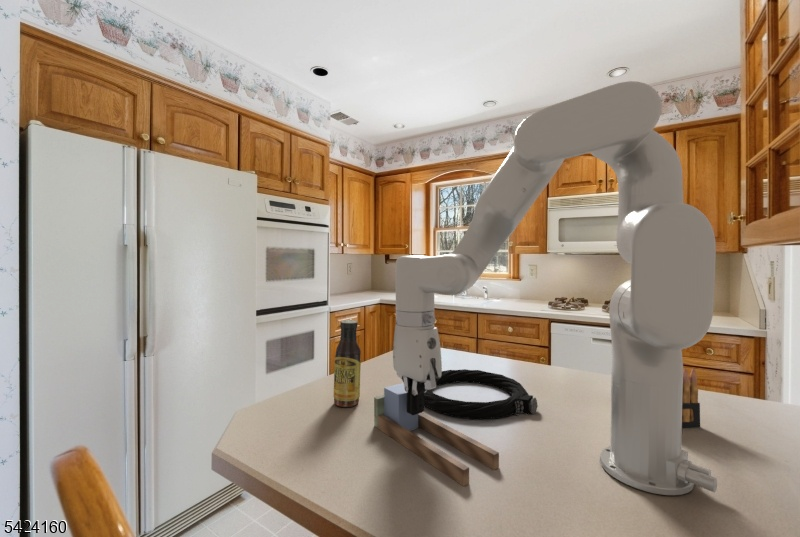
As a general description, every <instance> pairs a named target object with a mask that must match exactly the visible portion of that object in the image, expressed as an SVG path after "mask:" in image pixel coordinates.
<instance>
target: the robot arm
mask: <svg viewBox="0 0 800 537" xmlns="http://www.w3.org/2000/svg"><path fill="white" fill-rule="evenodd" d="M662 108H663V105H662V100H661V96H660V94H659V92H658V91H657V90H656V88H653V87H652V86H651V85H649V84H647V83H644V82H641V81H631V80H629V81H622V82H617V83H613V84H610V85H608V86H603V87H602V88H598V89H596V90H592V91H590V92H587V93H584V94H582V95H578V96H575V97H573V98H572V97H571V98H569V99H566V100H563V101H561V102H558V103H555V104H552V105H549V106H546V107H544V108H542V109H539V110H537V111H535V112H533V113H530V115H528V116H527V117H525V118H524V119H523V120H522V121H521V123H519V125H518V126H517V128H516V130H515V133H514V137H513V147H512V148H511V150H510V152H509V153H508V155H507V156H506V158H504V160H503V162H502V164H501V165H500V166H499V168H498V169H497V171H496V172H495V174H494V175H493V176H492V178H491V180H490V181H489V183H488V184H487V185H486V187H485V188H484V190H483V191H482V192H481V194H480V195H479V197H478V199H477V202H476V204H475V207H474V212H473V216H472V219H471V222H470V224H469V226H468V228H467V230H466V232H465V233H464V235H463V236H462V238H461V240H460V241H459V243H458V244H457V245H456V246H455V248H454V249H453V251H452V252H451V253H448V254H442V255H436V256H435V255H434V256H429V255H401V256H399V257H397V259H396V261H395V270H394V271H395V327H394V333H393V334H394V335H393V346H392V364H393V365H392V366H393V369H394V371H395V372H396V376H397V377H399V378H400V379H401V380H402V383H404V389H405V391H406V392H408V393H407V413H409V414H411V415H416V414H419V413H424V411H425V406H424V393H425V392H426V391H427V389H428V390H430V391H431V390H433V389H437V386H436V381H435V378H440V377H441V375H442V371H443V368H442V366H443V365H442V362H443V361H442V350H441V340H440V336H439V330H438V327H437V326H435V323H436V320H437V319H436V316H435V294H438V295H443V296H457V295H460V294H463V293H464V292H466V291H467V290H469V289H471V288H472V287H473V286H475V284H476V282H477V281H478V280H479V278H480V277H481V276H482V274H483V273H484V271H485V270H486V269H487V267H488V266H489V265H490V264H491V262H492V260H493V259H494V258H495V257H496V255H497V253H498V252H499V251H500V249H501V248H502V246H503V245H504V244H505V242H506V241H507V240H508V239H509V237H511V235H512V234H513V233H514V232H515V230H516V229H517V227H518V226H519V225H520V223H522V222H521V221H522V220H523V219H524V218H525V216H526V215H527V213H528V212H529V211H530V209H531V207H532V206H533V205H534V204H535V202H536V200H537V199H538V198H539V196H540V195H541V193H542V192H543V191H544V190H545V188H546V187H547V186H548V185H549V183H550V182H551V180H552V179H553V178H554V176H555V174H556V173H557V172H558V171H559V170H560V168H561V166H562V165H563V163H564V161H565V160H567V159H570V158H575V157H578V156H583V155H586V154H591V155H592V156H593V157H594V158H596V159H597V160H599V161H601V162H604V163H605V164H607V165H608V166H609V167H611V169H612V170H613V172H614V174H615V176H616V178H617V179H616V180H617V188H618V189H617V191H618V210H617V214H618V215H617V229H616V230H617V231H616V232H617V233H616V248H617V251H618V255H620V257H621V258H622V260H624V261H625V262H626V264H627V263H628V264H629V265H630V279H629V280H628V279H627V280H626V281H625V282H623V283H621V284H619V286H618V287H617V288H616V289H615V291H614V292H613V293H612V296H611V297H610V301H609V307H608V308H609V309H608V311H609V312H608V313H609V317H608V318H609V327H610V329H609V330H610V337H611V378H610V379H611V380H610V381H611V385H610V386H611V392H610V446H609V445H608V446H607V447H605V448H603V449H602V450H601V451H600V453H599V462H600V465H601V467H602V468H603V469H604V470H605V472H606V473H607V474H609V475H610V476H612V477H613V478H615V479H616V480H618V482H621V483H622V484H625V485H627V486H629V487H632V488H634V489H637V490H640V491H644V492H646V493H650V494H656V495H661V496H662V495H664V496H682V495H685V494H688V493H689V492H691V491H692V490H693V488H694V485H696V486H698V487H699V488H702V489H704V490H707V491H710V492H712V493H716V491H717V489H718V479H717V478H716V477H714V476H712V470H710V469H708V468H706V467H703V466H699V465H696V464H694V463H692V461H690V460H689V452H688V451H687V450H684V449H682V444H683V443H682V441H683V440H682V439H683V438H682V435H683V433H682V430H683V428H682V391H683V371H684V358H683V350H684V349H685V350H686V349H688V348H690V347H693V346H694V345H696V344H698V343H699V342H700V341H701V340H702V339H703V338H704V337H705V335H707V333H708V331H709V330H710V327H711V324H712V320H713V314H714V306H715V287H716V286H715V284H716V283H715V282H716V255H717V253H716V248H717V245H716V244H717V243H716V237H715V232H714V228H713V226H712V224H711V222H710V220H709V218H708V217H707V216H706V215H705V214H704V213H703V212H702V211H701V210H699V209H698V208H696V207H695V206H693V205H691V204H688V203H685V202H684V185H683V184H684V183H683V182H684V180H683V179H684V178H683V175H684V174H683V168H682V162H681V159H680V156H679V154H678V152H677V151H676V149H675V148H674V146H673V145H672V144H671V143H670V142H669V141H668V140H667V139H666V138H664V136H663V135H662V134H660V133H659V132H657V131H656V130H655V127H656V126H657V125H658V122H659V120H660V117H661V115H662V110H663V109H662ZM419 383H420V384H419Z"/></svg>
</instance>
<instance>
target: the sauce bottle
mask: <svg viewBox="0 0 800 537" xmlns="http://www.w3.org/2000/svg"><path fill="white" fill-rule="evenodd" d="M339 327H340V338H339V343H338V344H337V347H336V350H335V355H334V368H333V370H334V372H333V402H334V405H335V406H337V407H341V408H352V407H355V406H356V405H357V404H358V403H359V401H360V395H361V364H362V363H361V362H362V360H361V354H362V351H361V350H362V349H361V347H360V346H359V344H358V341H357V329H358V321H356V320H352V319H348V320H347V319H346V320H341V321H340V324H339Z"/></svg>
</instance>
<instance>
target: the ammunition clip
mask: <svg viewBox="0 0 800 537" xmlns="http://www.w3.org/2000/svg"><path fill="white" fill-rule="evenodd" d="M697 377H698V376H697V372H696V369H695V368H692V369H691V371H690V373H689V372H688V369H687V368H683V391H682V429H695V428H697V429H700V428H701V403H700V402H699V388H698V378H697Z"/></svg>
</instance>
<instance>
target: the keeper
mask: <svg viewBox="0 0 800 537" xmlns="http://www.w3.org/2000/svg"><path fill="white" fill-rule="evenodd" d="M407 393H408V392H406V391H405V389H404V382H401V383H398V384H397V383H396V384H393V385H389V386H385V387H384V388H383V395H384V416H386V417H387V418H389V419H390V420H392V421H394V422H395V423H397V424H399V425H400V426H402V427H404V428H405V429H407V430H409V431H410V432H412V431H414V430H417V429H419V426H418V414H416V415H411V414H409V413H407Z"/></svg>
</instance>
